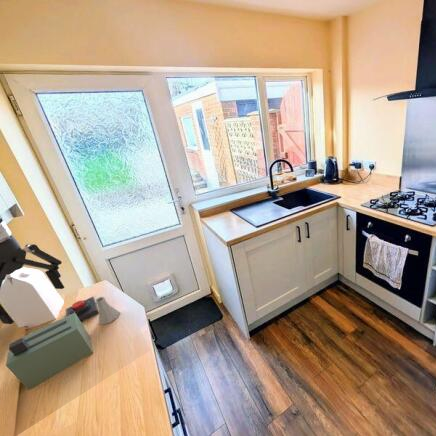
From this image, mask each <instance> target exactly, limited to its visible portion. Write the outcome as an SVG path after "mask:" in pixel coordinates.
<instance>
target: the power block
mask: <svg viewBox="0 0 436 436" xmlns="http://www.w3.org/2000/svg"><path fill="white" fill-rule="evenodd" d="M95 300H96V299H95V297H94V296H91V297H89V298H87V299H84V300H83V301H84V303H85V306H83V307H82V308H80V309H78V310H74V309H73V308H72V306H70V307H67V308H66V309H65V314H66V316H68V315H71V314H73V313H76V315H77V317H78V318H79V320H80V321H81V323H82V322H84V321H86V320H88V319H90V318H92V317H95V316H96V315H99V308H98V304H97V303H96V302H95ZM66 316H65V317H66Z"/></svg>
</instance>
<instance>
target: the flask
mask: <svg viewBox="0 0 436 436" xmlns="http://www.w3.org/2000/svg"><path fill="white" fill-rule="evenodd" d="M95 302H96V304H97V308H98V311H99V314H98V322H99V323H100V324H101V325H106V324H107V325H108V324H110V323H112V322H113V321H114V320H116V319H117V318H118V317H119V316H120V314H121V312H120V311H119V310H117V309H116V308H115V307H113V306H112V305H110V304H109V303H108V302H107V301H106V297H105V296H99V297H98V298H96V299H95Z"/></svg>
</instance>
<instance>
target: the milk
mask: <svg viewBox="0 0 436 436" xmlns="http://www.w3.org/2000/svg"><path fill="white" fill-rule="evenodd" d="M22 267H23V268H21V269H18V270H16V271H14V272H13V273H11V274H10V275H6V277H5V279H4V281H3V282H2V285H1V288H0V301H1V303H2V305H3V307H5V310H6V311H7V313H8V314H9V316H10V317H11V318H12V320H13V321H14V323H15V324H16V326H17V327H18V328H19V329H20V328H23V327H25V330H28V329H31V328H34V327H37V326H39V325H42V324H46V323H49V322H51V321H54V320H57V318H58V316H59V314H60V312H61V310H62V308H63V305H64V304H65V300H64V299H63V298H62V296H61V295H60V294H59V292H58V291H57V289H55V287H54V286H53V284H52V282H51V281H50V279H49V278H48V276H47V275H46V274H45V272H43V271H42V270H40V269H37V268H32V267H31V268H29V267H25V266H22Z"/></svg>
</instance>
